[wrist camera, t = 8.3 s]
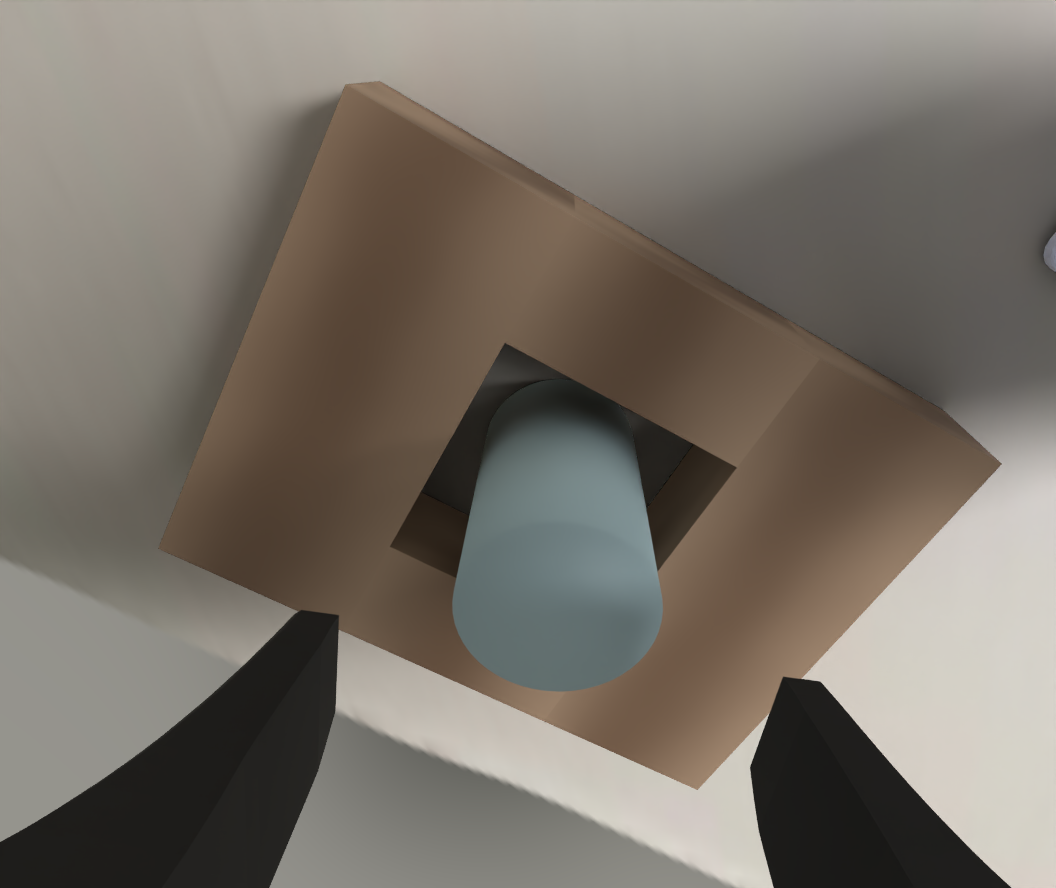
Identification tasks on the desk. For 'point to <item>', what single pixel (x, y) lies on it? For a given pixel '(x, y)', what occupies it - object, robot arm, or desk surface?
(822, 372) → the socket board
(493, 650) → the peg
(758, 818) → the robot arm
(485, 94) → the desk surface
